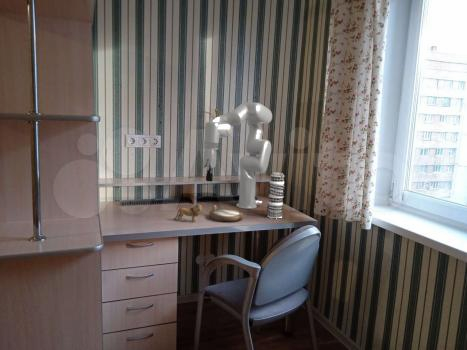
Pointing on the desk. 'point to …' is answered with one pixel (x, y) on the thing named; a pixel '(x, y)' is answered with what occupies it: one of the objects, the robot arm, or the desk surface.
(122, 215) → the desk surface
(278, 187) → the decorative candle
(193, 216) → the lion figurine
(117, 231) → the desk surface
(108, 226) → the desk surface
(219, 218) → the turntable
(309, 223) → the desk surface
